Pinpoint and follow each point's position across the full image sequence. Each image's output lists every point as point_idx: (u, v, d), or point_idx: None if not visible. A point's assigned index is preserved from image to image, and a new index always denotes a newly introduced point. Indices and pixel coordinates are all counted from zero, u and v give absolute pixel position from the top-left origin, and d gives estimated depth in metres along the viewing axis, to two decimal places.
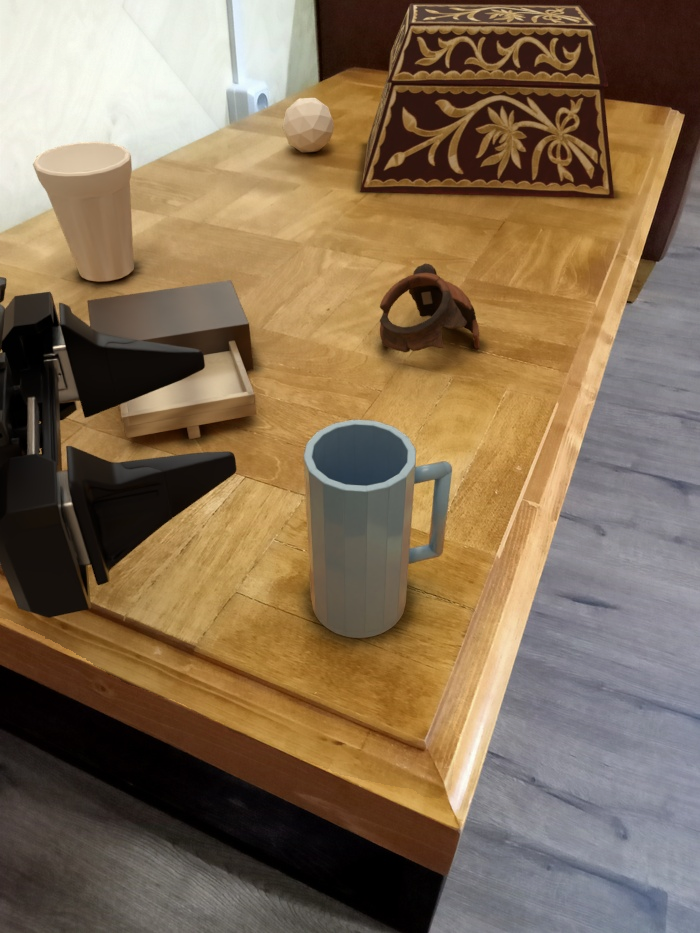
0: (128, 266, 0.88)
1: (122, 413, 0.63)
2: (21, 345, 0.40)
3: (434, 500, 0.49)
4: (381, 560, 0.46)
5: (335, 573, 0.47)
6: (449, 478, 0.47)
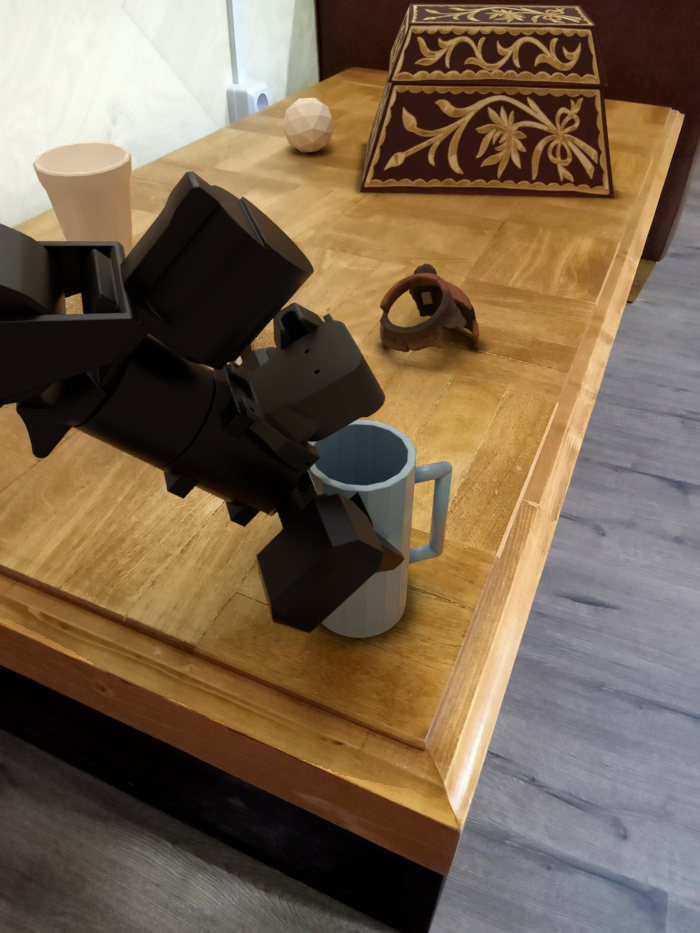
0: None
1: None
2: None
3: (434, 500, 0.49)
4: None
5: None
6: (449, 478, 0.47)
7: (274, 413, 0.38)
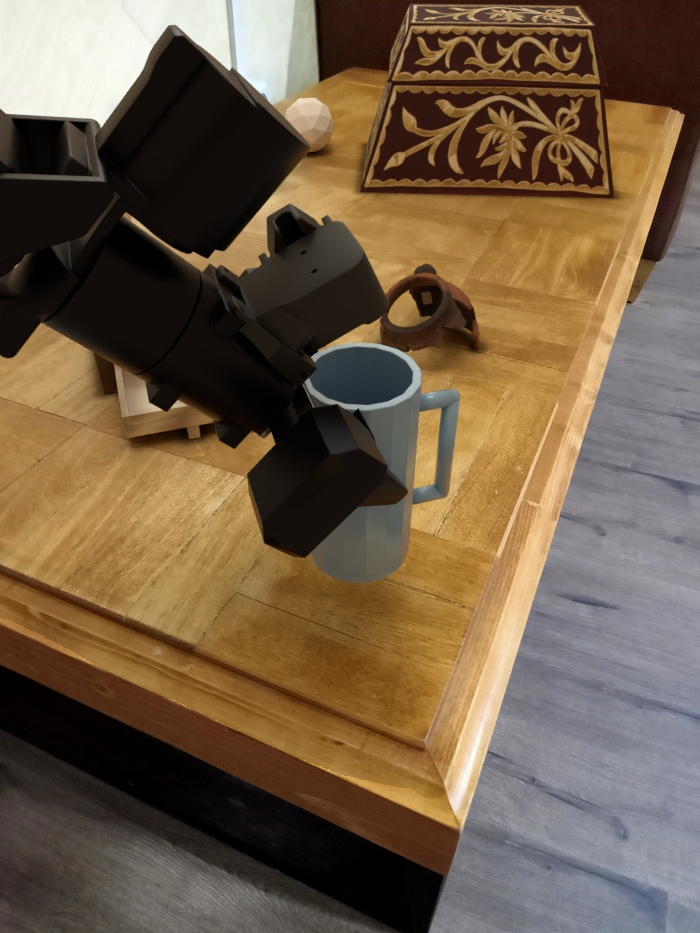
0: None
1: (122, 413, 0.63)
2: None
3: (440, 432, 0.45)
4: None
5: None
6: (457, 407, 0.44)
7: (267, 315, 0.35)
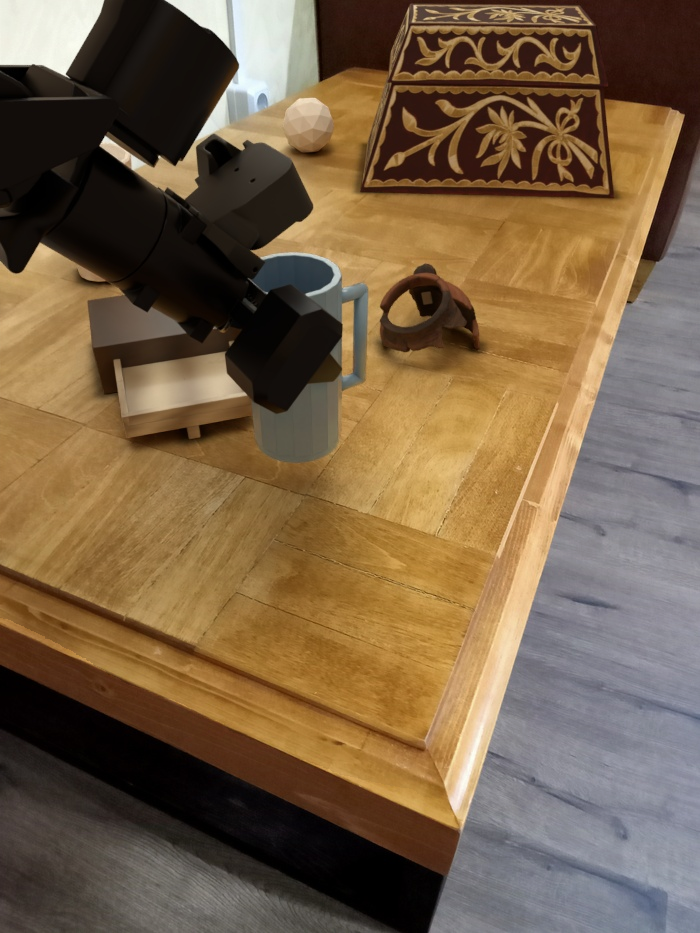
0: None
1: (122, 413, 0.63)
2: None
3: (355, 323, 0.54)
4: None
5: None
6: (367, 297, 0.53)
7: (221, 219, 0.42)
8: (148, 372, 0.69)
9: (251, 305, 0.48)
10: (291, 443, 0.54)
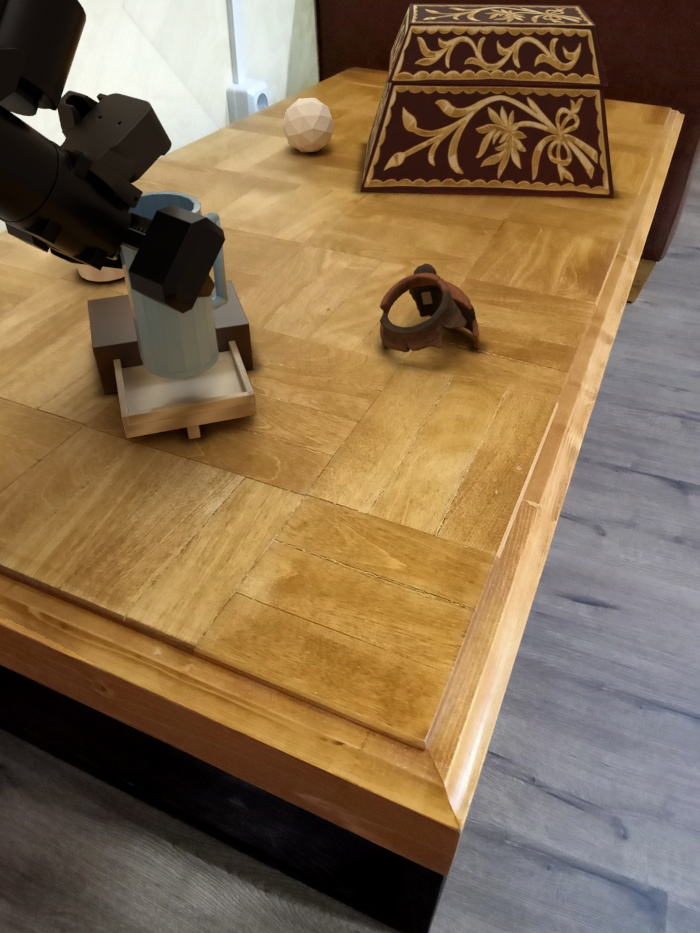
0: None
1: (122, 413, 0.63)
2: None
3: None
4: None
5: (168, 313, 0.59)
6: (219, 224, 0.62)
7: (102, 157, 0.50)
8: (148, 372, 0.69)
9: None
10: (181, 358, 0.62)
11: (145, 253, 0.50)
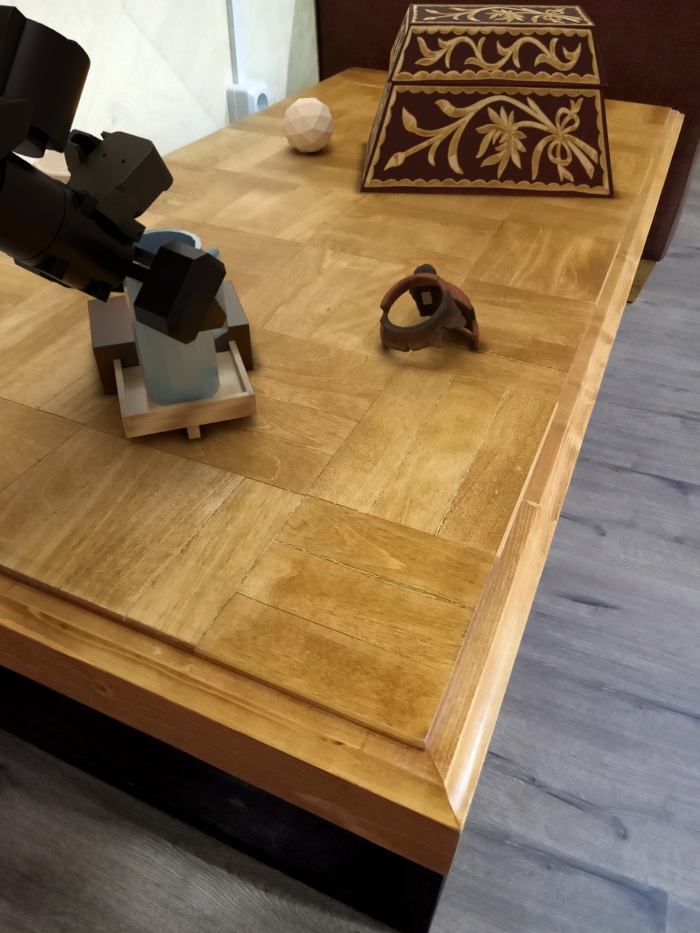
0: None
1: (122, 413, 0.63)
2: None
3: None
4: None
5: (171, 347, 0.62)
6: (219, 258, 0.65)
7: (107, 195, 0.52)
8: None
9: None
10: (184, 389, 0.64)
11: (149, 287, 0.52)
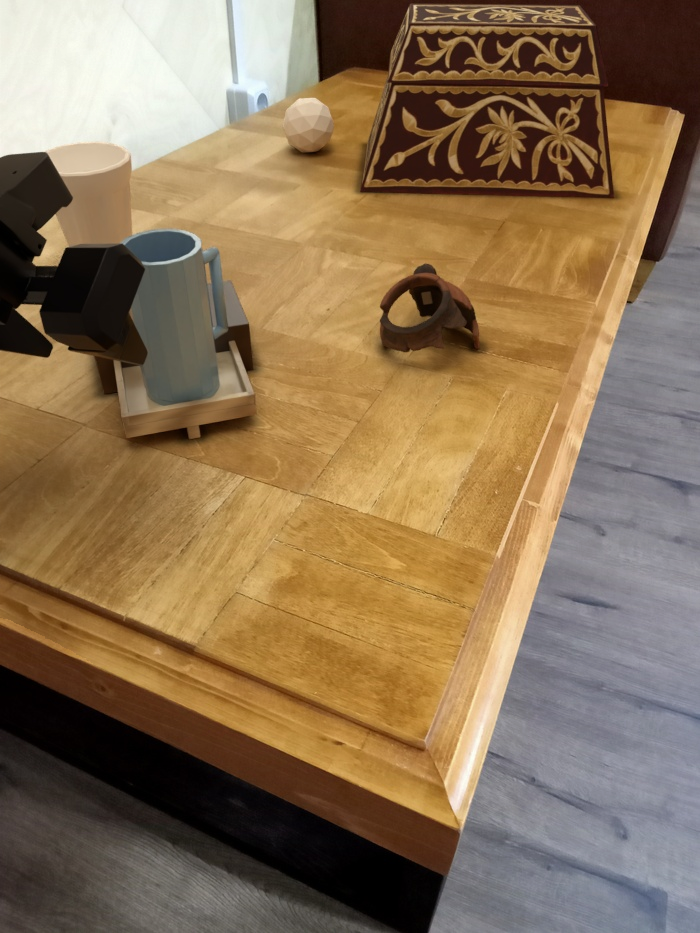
0: None
1: (122, 413, 0.63)
2: None
3: (213, 281, 0.66)
4: (201, 323, 0.62)
5: (171, 347, 0.62)
6: (219, 258, 0.65)
7: None
8: None
9: None
10: (184, 389, 0.64)
11: (57, 289, 0.45)
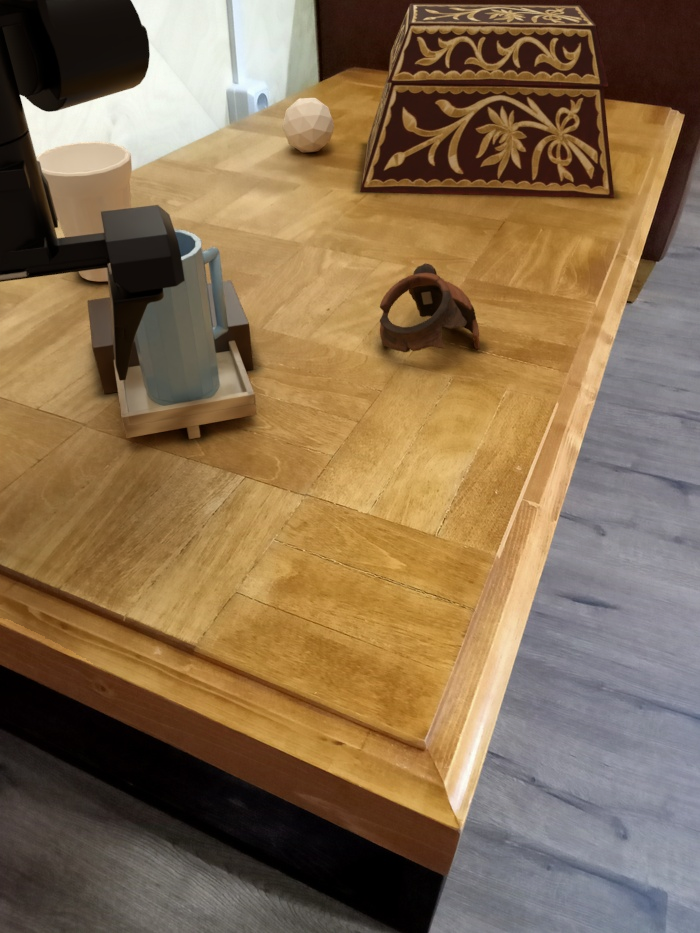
0: None
1: (122, 413, 0.63)
2: None
3: (213, 281, 0.66)
4: (201, 323, 0.62)
5: (171, 347, 0.62)
6: (219, 258, 0.65)
7: None
8: None
9: None
10: (184, 389, 0.64)
11: (117, 229, 0.44)
